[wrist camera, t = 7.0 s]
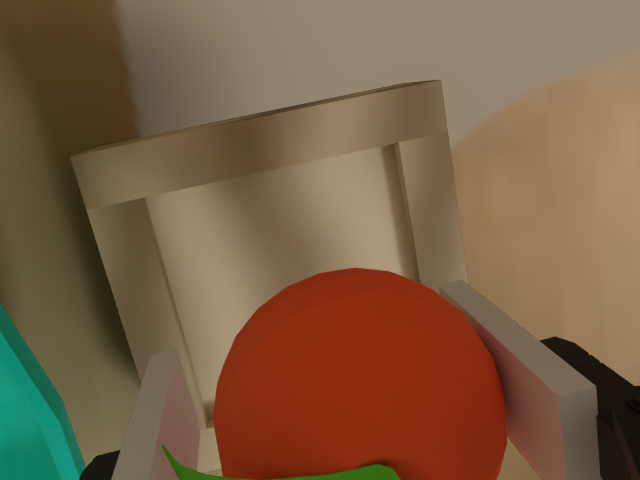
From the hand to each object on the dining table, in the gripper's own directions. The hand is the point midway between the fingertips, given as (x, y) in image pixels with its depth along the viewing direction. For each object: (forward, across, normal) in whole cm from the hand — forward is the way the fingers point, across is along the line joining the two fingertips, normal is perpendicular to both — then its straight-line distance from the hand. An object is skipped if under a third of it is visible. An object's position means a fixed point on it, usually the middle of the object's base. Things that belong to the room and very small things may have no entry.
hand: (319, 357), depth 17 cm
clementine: (+1, 0, 0) cm, 1 cm away
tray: (+11, 0, 0) cm, 11 cm away
